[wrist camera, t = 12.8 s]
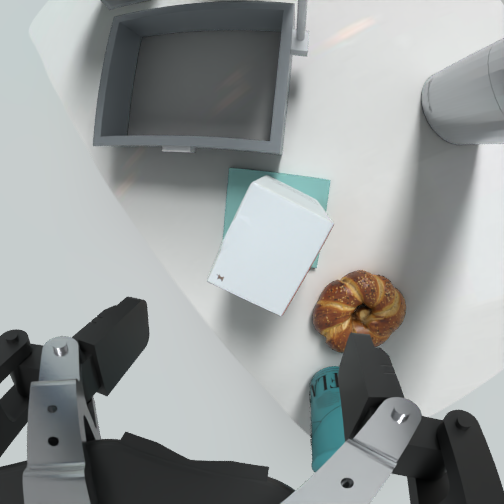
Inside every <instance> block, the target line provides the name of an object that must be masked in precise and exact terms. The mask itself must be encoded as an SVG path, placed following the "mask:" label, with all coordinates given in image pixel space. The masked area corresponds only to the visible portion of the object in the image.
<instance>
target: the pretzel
mask: <svg viewBox="0 0 504 504" xmlns="http://www.w3.org/2000/svg"><path fill="white" fill-rule="evenodd" d="M363 303H364V304H365V305H366V306H365V305H362V306H360V307H359V308H358V309H357V310H356V311H355V309H356V308H357V306H359V305H361V304H363ZM354 311H355V312H354ZM405 311H406V305H405V300H404V297H403V296H402V294H401V292H399V291H398V289H396V288H394V286H393V285H392V284H391V281H389V280H388V279H387V278H385V277H384V276H380V275H372V274H371V273H369V272H366V271H363V270H358V271H355V272H352V273H349V274H348V275H346V276H345V277H343V278H342V279H341V280H340V281H339V280H336V281H333V282H331V283H330V284H329V285H327V286H326V288H325V289H324V290H323V292H322V293H321V295H320V298H319V300H318V302H317V304H316V306H315V308H314V312H313V325H314V327H315V329H316V330H317V331H318V332H319V333H320V334H321V335H323V336H325V337H326V344H327V345H328V346H329V347H330V348H332V350H335V351H337V352H341V353H344V350H345V347H346V343H347V340H348V337H349V334H350V333H360V334H370V336H371V338H372V341H373V344H374V347H377V346H379V345H381V344H383V343H384V342H385V341H386V340H387V339H388V338H389V336H390V335H391V334H392V332H394V331H395V330H396V329H397V328H398V327H399V326H400V325H401V324H402V322H403V319H404V317H405V313H406V312H405Z"/></svg>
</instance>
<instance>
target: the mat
mask: <svg viewBox="0 0 504 504" xmlns="http://www.w3.org/2000/svg"><path fill="white" fill-rule="evenodd" d="M265 175H268V176H270V177H273V178H275V179H277V180H279V181H281V182H283V183H285V184H287V185H289V186H291V187H293V188H295V189H297V190H299V191H301V192H303V193H305V194H307V195H309V196H310V197H312V198H314V199H316V200H317V201H318V202H319V203H320V205H321V206H322V207H323V209H324V210H325V211H326V208H327V201H328V194H329V187H330V180H326V179H320V178H313V177H306V176H299V175H291V174H284V173H275V172H267V171H258V170H249V169H239V168H229V175H228V186H227V197H226V209H225V221H224V233H223V240H224V237H225V235H226V233H227V231H228V229H229V227H230V225H231V223H232V221H233V219H234V217H235V214H236V212H237V210H238V208H239V206H240V204H241V202H242V200H243V198H244V196H245V194H246V192H247V190H248V188H249V186H250V184H251V183H252V182H253V181H256V180H258V179H259V178H261V177H263V176H265ZM318 257H319V253H318V255H317V257H316V259H315V261H314V263H313V264H312V266H311V267H313V268H317V263H318Z"/></svg>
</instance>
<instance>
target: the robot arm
mask: <svg viewBox="0 0 504 504" xmlns="http://www.w3.org/2000/svg"><path fill="white" fill-rule="evenodd" d="M422 106H423V111H424V114H425V116H426V119H427V121H428V123H429V124H430V126H431V128H432V129H433V130H434V131H435V132H436V134H438V135H439V136H440V137H441V138H442V139H444V140H446V141H447V142H449V143H453V144H459V145H464V144H504V38H503V39H501V40H499V41H497V42H495V43H493V44H491V45H489V46H487V47H485V48H483V49H481V50H479V51H477V52H475V53H473V54H471V55H469V56H467V57H465V58H463V59H461V60H459V61H458V62H456V63H454V64H452V65H450V66H448V67H446V68H444V69H443V70H441V71H439V72H437V73H435V74H434V75H432V76H431V77H430V78H428V80H427V81H426V82H425V84H424V87H423V90H422ZM148 340H149V325H148V312H147V303H146V301H145V300H141V299H137V298H132V297H126V298H125V299H124V300H123V301H122V302H120V303H119V304H118V305H117V306H116V305H115V306H113V307H110V308H108V309H105V310H104V311H103V312H101V313H100V314H99V315H98V316H97V317H96V318H94V319H93V320H92V321H91V322H89V323H88V324H87V325H86V326H85V327H84V328H82V329H81V330H80V331H79V332H78V333H77V334H75V335H74V336H73V337H72V338H71V337H66V336H60V337H55V338H52V339H50V340H49V341H47V342H46V343H45V344H44V346H41V345H35V344H30V341H29V338H28V335H27V333H26V332H25V331H22V330H10V331H7V332H5V333H4V334H2V335H1V336H0V383H1V382H2V381H3V380H4V379H5V378H6V377H7V376H8V375H9V374H10V376H11V378H12V380H13V382H14V386H13V387H12V388H11V389H10V390H9V391H8V392H7V393H6V394H5V395H4V396H3V397H2V398H1V399H0V457H1V455H2V454H3V453H4V451H5V450H6V449H7V448H8V446H9V445H10V444H11V442H12V441H13V440H14V438H15V437H16V436H17V435H18V433H19V432H20V431H21V430H22V428H23V427H24V426H25V425H26V423H27V422H28V426H27V461H23V462H19V463H15V464H11V465H6V466H2V467H0V504H369V503H370V502H371V501H372V500H373V498H374V497H375V496H376V494H377V493H378V491H379V490H380V489H381V487H382V486H383V485H384V483H385V482H386V480H387V479H388V477H389V476H390V474H391V473H393V474H398V475H403V476H407V479H408V486H409V494H410V503H411V504H504V491H503V487H502V484H501V481H500V478H499V475H498V472H497V469H496V466H495V463H494V461H493V458H492V455H491V453H490V450H489V447H488V445H487V442H486V440H485V437H484V435H483V433H482V430H481V428H480V425H479V423H478V421H477V420H476V418H475V417H474V416H472V415H471V414H470V413H468V412H466V411H463V410H453V411H450V412H449V413H448V414H447V415H446V416H445V418H444V419H443V420H438V419H433V418H428V417H424V416H422V415H421V411H420V409H419V408H418V406H417V405H416V404H415V403H413V402H412V401H410V400H408V399H405V398H404V395H403V393H402V390H401V387H400V384H399V382H398V379H397V376H396V374H395V371H394V368H393V367H392V363H391V360H390V358H389V356H388V355H387V354H386V353H385V352H384V351H383V350H382V349H381V348H375V347H374V344H373V341H372V338H371V336H370V334H360V333H350V334H349V337H348V340H347V343H346V347H345V350H344V353H343V357H342V360H341V363H340V366H339V372H338V383H339V391H340V399H341V408H342V417H343V426H344V437H345V443H344V444H343V445H342V446H341V447H340V448H339V449H338V450H337V451H336V453H335V454H334V455H333V456H332V457H331V458H330V459H329V460H328V461H327V462H326V463H325V464H324V465H323V466H322V467H321V468H320V469H319V470H318V471H317V472H316V473H315V474H313V475H312V476H311V478H309V479H308V480H307V481H306V482H305V483H304V484H303V485H301V486H300V487H299V488H298V489H297V490H296V491H295V490H294V489H292V488H291V487H289V486H288V485H286V484H284V483H282V482H280V481H278V480H276V479H273V478H270V477H268V470H269V467H265V466H258V465H251V464H245V463H239V462H234V461H195V460H189V459H187V458H185V457H183V456H181V455H179V454H177V453H175V452H174V451H172V450H170V449H168V448H166V447H164V446H163V445H161V444H159V443H157V442H154V441H151V440H148V439H145V438H142V437H139V436H136V435H133V434H131V433H128V432H125V433H124V435H123V437H122V438H121V440H118V439H101V436H100V431H99V426H98V420H97V414H96V408H95V401H94V398H93V395H94V394H95V393H96V392H98V393H100V394H103V395H105V396H108V395H109V393H110V392H111V391H112V389H113V388H114V387H115V386H116V384H117V383H118V382H119V381H120V379H121V378H122V377H123V375H124V374H125V373H126V371H127V370H128V369H129V368H130V366H131V365H132V364H133V362H134V361H135V360H136V359H137V357H138V356H139V355H140V354H141V352H142V351H143V350H144V349H145V347H146V346H147V343H148Z"/></svg>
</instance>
